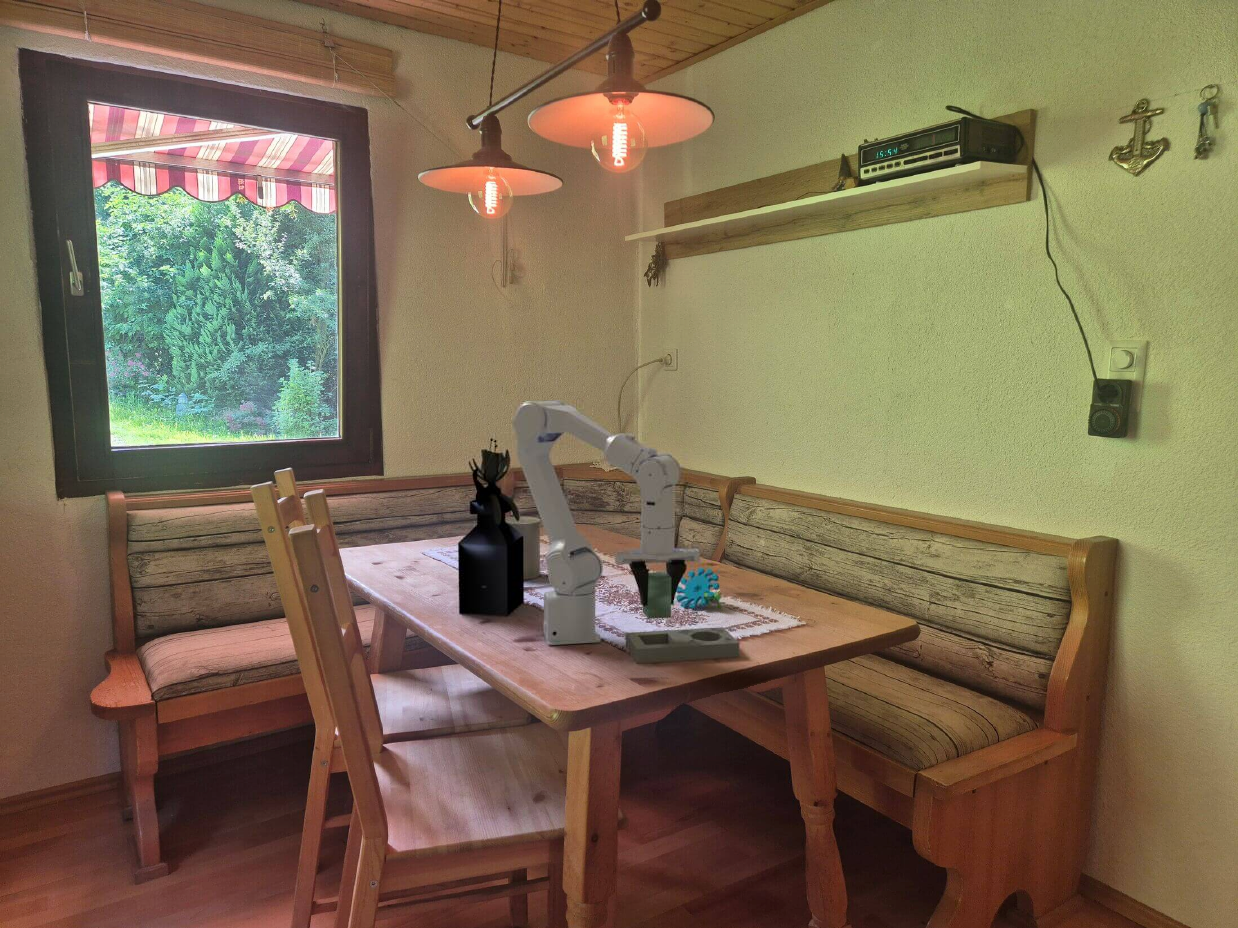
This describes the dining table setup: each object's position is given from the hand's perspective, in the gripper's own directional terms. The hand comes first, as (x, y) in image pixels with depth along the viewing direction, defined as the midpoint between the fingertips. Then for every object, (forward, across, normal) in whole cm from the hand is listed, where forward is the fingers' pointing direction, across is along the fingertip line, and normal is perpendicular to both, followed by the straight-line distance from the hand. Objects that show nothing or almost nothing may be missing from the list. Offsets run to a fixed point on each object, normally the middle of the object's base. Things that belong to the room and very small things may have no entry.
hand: (657, 603), depth 143 cm
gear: (+9, +16, +27) cm, 33 cm away
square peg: (+2, 0, 0) cm, 2 cm away
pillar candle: (+9, -18, +60) cm, 63 cm away
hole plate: (+9, +4, 0) cm, 10 cm away
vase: (+9, -26, +33) cm, 43 cm away
